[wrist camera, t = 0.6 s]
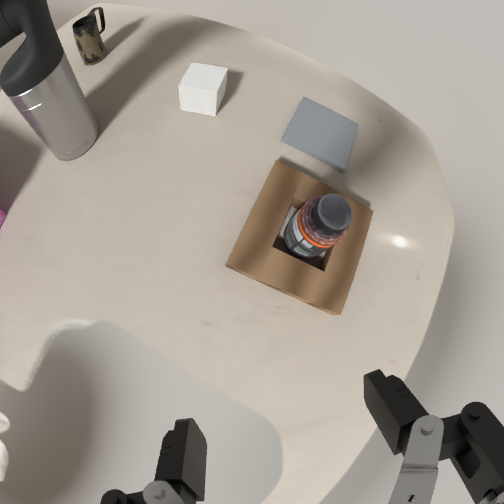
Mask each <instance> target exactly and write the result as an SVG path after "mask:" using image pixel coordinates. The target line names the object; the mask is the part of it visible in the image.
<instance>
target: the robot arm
mask: <svg viewBox="0 0 504 504" xmlns="http://www.w3.org/2000/svg"><path fill="white" fill-rule="evenodd" d="M22 32H25V34H26V36H27V37H26V39H25V40H24V42H23V43H22V44H21V46H20V47H19V48H18V50H17V51H16V52H15V53H14V54H13V55H12V56H11V58H10V59H9V60H8V61H7V63H6V64H5V66H4V67H3V69H2V71H1V74H0V86H1V87H2V89H3V91H4V92H5V93H6V95H7V96H8V97H9V99H10V100H11V101H12V103H13V104H14V105H15V107H16V108H17V109H18V111H19V112H20V113H21V115H22V116H23V117H24V118H25V120H26V121H27V122H28V124H29V125H30V126H31V127H32V129H33V130H34V131H35V132H36V134H37V135H38V136H39V137H40V139H41V140H42V141H43V142H44V143H45V145H46V146H47V147H48V148H49V150H50V151H51V152H52V153H53V154H54V155H55V157H57V158H58V159H60V160H63V161H68V160H73V159H75V158H77V157H79V156H81V155H82V154H84V153H85V152H86V151H87V150H88V149H89V148H90V147H91V146H92V145H93V143H94V142H95V140H96V138H97V135H98V131H99V126H98V123H97V121H96V119H95V117H94V115H93V113H92V111H91V109H90V107H89V104H88V102H87V100H86V98H85V96H84V94H83V92H82V90H81V88H80V86H79V83H78V81H77V79H76V77H75V75H74V73H73V70H72V68H71V66H70V64H69V61H68V59H67V57H66V54H65V52H64V50H63V47H62V45H61V43H60V40H59V38H58V35H57V32H56V30H55V27H54V25H53V22H52V19H51V16H50V12H49V9H48V5H47V1H46V0H0V48H1V47H2V46H3V45H5V44H6V43H8V42H9V41H10V40H12V39H13V38H15V37H16V36H18V35H19V34H21V33H22ZM364 399H365V403H366V406H367V408H368V410H369V411H370V413H371V415H372V417H373V418H374V420H375V422H376V424H377V425H378V427H379V429H380V431H381V432H382V434H383V436H384V438H385V439H386V441H387V443H388V445H389V447H390V448H391V450H392V452H393V454H394V455H396V454H398V453H402V454H403V456H404V460H403V463H402V466H401V469H400V473H399V476H398V479H397V482H396V484H395V487H394V490H393V493H392V495H391V498H390V500H389V503H388V504H430V501H431V498H432V494H433V491H434V487H435V483H436V479H437V475H438V468H437V465H438V461H441V460H444V459H448V458H450V460H451V461H452V463H453V465H454V467H455V468H456V470H457V472H458V473H459V475H460V477H461V479H462V481H463V482H464V484H465V486H466V488H467V490H468V492H469V493H470V495H471V497H472V499H473V501H474V503H475V504H504V426H503V425H502V424H501V423H500V422H499V420H498V419H497V418H496V417H495V416H494V414H493V413H492V412H491V411H490V409H489V408H488V407H487V406H486V405H485V404H483V403H481V402H472V403H469V404H467V405H466V406H465V407H464V408H463V409H462V411H461V413H460V414H457V415H454V416H451V417H447V418H439V417H437V416H434V415H429V414H428V413H427V412H426V410H425V409H424V408H423V407H422V405H421V404H420V403H419V401H418V400H417V399H416V397H415V396H414V395H413V394H412V393H411V391H410V390H409V389H408V388H407V386H406V385H405V384H404V382H403V381H402V380H401V379H400V378H398V377H396V376H394V375H390V376H388V377H386V376H385V375H384V374H383V372H382V371H381V370H380V369H378V370H375V371H373V372H370V373H368V374H365V375H364ZM161 447H162V449H161V450H160V456H159V460H158V465H157V469H156V474H155V479H154V482H151V483H149V484H148V485H147V486H146V487H145V488H144V491H141V492H137V493H132V494H125V493H123V492H122V491H120V490H117V489H116V490H115V489H114V490H110V491H108V492H106V493H105V494H104V495H103V497H102V499H101V503H100V504H196V501H204V494H205V473H206V472H205V471H206V455H207V443H206V439H205V437H204V435H203V433H202V432H201V430H200V429H199V427H198V425H197V424H196V422H195V421H194V419H192V418H187V419H179V420H176V422H175V427H174V430H170V431H168V432H167V434H166V435H165V437H164V438H163V441H162V446H161Z"/></svg>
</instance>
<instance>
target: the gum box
mask: <svg viewBox="0 0 504 504" xmlns="http://www.w3.org/2000/svg"><path fill="white" fill-rule="evenodd" d="M5 217H6V214H5V213H4V212H3V211H2V210H1V209H0V226H1V224H2V222H3V220H4V219H5Z"/></svg>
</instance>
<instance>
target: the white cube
mask: <svg viewBox="0 0 504 504" xmlns="http://www.w3.org/2000/svg"><path fill="white" fill-rule="evenodd" d="M227 74H228V68H224V67H218V66H212V65H206V64H199V63H192V64H191V65H190V67H189V68H188V70H187V72H186V73H185V75H184V77H183V78H182V80H181V82H180V84H179V85H178V87H179V98H180V108H181V110H185V111H191V112H197V113H202V114H207V115H212V116H216V114H217V111H218V109H219V106H220V104H221V102H222V99H223V97H224V95H225V92H226V83H227Z"/></svg>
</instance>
